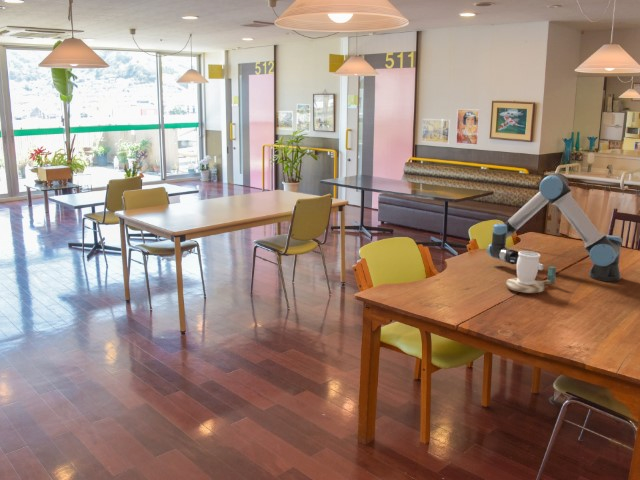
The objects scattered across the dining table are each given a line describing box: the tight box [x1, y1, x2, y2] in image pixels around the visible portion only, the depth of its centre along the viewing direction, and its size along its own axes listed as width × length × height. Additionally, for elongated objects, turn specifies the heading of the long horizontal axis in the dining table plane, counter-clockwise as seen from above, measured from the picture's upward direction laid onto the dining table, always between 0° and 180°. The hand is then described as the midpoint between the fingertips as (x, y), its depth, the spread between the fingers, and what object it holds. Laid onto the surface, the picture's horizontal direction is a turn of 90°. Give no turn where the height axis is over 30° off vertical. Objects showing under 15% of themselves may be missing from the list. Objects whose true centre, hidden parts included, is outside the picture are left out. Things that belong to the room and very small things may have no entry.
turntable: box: [505, 266, 557, 294], centre depth 301 cm, size 27×18×8 cm, turn 115°
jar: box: [516, 250, 541, 285], centre depth 298 cm, size 11×10×15 cm
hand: (542, 267), depth 311 cm, fingers closed
